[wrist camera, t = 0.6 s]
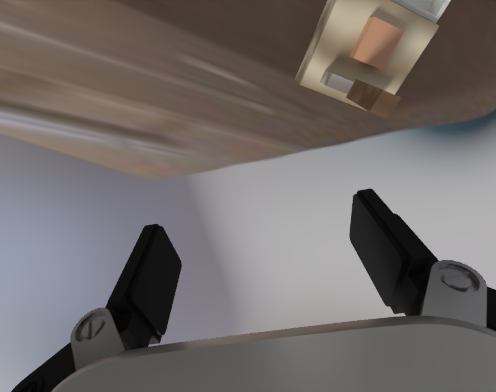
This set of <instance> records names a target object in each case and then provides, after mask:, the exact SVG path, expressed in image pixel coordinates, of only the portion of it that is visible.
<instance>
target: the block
mask: <svg viewBox="0 0 496 392" xmlns="http://www.w3.org/2000/svg"><path fill="white" fill-rule="evenodd" d="M404 32H405V31H403V30H401V29H399V28H397V27H395V26H393V25H391V24H389V23H387V22H385V21H383V20H381V19H379V18H377V17H369V18H368V20H367V22H366V24H365V26H364V28H363V30H362V32H361V34H360V36H359V38H358V40H357V42H356V44H355V46H354V48H353V50H352V52H351V54H350V56H349V57H351V58H353V59H355V60H357V61H360V62H362V63H364V64H366V65H369V66H371V67H373V68H376V69H379V70H382V69H383V67H384V66H385V64H386V62H387V61H388V59H389V57H390V56H391V54H392V52H393V50H394V49H395V47H396V45H397V44H398V42H399V40H400V39H401V37H402V35H403V34H404Z"/></svg>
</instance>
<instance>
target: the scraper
mask: <svg viewBox="0 0 496 392" xmlns="http://www.w3.org/2000/svg"><path fill="white" fill-rule="evenodd" d="M320 83H322V84H324V85H325V86H327V87H330V88H332V89H335V90H337V91H340V92H342V93H345V94H347V96H346V98H347V99H349V100H351V101H352V102H354V103H356V104H357V105H359V106H361V107H362V108H364V109H366V110H367V111H369V112H371V113H374V114H376V115H379V116H381V117H384V118H386V119H387V118H388V117H389V115H390V114H391V112H392V111H393V109H394V108H395V106H396V105H397V103H398V102H399V100H400V99H401V97H399V96H396V95H394V94H392V93H389V92H387V91H385V90H382V89H380V88H377V87H375V86H372V85H370V84H367V83H365V82H362V81H360V80H357V79H356V80H355V82H353V81H350V80H348V79H346V78H343V77H341V76H338V75H336V74H334V73H331V72H329V71H326V70H325V72H324V74H323V76H322V78H321V80H320Z"/></svg>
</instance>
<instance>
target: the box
mask: <svg viewBox="0 0 496 392" xmlns="http://www.w3.org/2000/svg"><path fill="white" fill-rule="evenodd" d="M391 1H393V2H395V3H397V4H399V5H401V6H402V7H404V8H406V9H408V10H410V11H412V12H414V13H416V14H418V15H420V16H421V17H423V18H425V19H427V20H429V21H431V22H433V23H437V21H438V19H439V18H440V16H441V15H442V13H443V12H444V10H445V9H446V7H447V5H448V4H449V2H450V1H451V0H391Z"/></svg>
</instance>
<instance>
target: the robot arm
mask: <svg viewBox="0 0 496 392" xmlns="http://www.w3.org/2000/svg"><path fill="white" fill-rule="evenodd" d="M350 240H351V243H352V245H353V247H354V248H355V250H356V252H357V254H358V256H359V258H360V259H361V261H362V263H363V265H364V267H365V269H366V271H367V272H368V274H369V276H370V278H371V280H372V282H373V284H374V285H375V287H376V289H377V291H378V293H379V295H380V297H381V298H382V300H383V302H384V304H385V305H386V306H390V307H391V309H392V311H393V313H394V314H398V313H405V315H406V316H402V317H388V318H379V319H368V320H358V321H350V322H341V323H333V324H324V325H316V326H308V327H300V328H291V329H283V330H275V331H266V332H258V333H250V334H242V335H234V336H226V337H218V338H211V339H203V340H195V341H187V342H179V343H172V344H165V345H159V346H152V347H148V345H149V344H156V343H160V341H161V337H162V335H164V334H165V332H166V329H167V324H168V320H169V316H170V312H171V308H172V304H173V300H174V296H175V292H176V287H177V283H178V279H179V275H180V271H181V267H182V265H181V260H180V258H179V256H178V254H177V253H176V251H175V249H174V247H173V245H172V243H171V241H170V239H169V238H168V236H167V234H166V232H165V230H164V228H163V227H162V226H159V225H158V224H153V225H147V226H145V227H144V228H143V230H142V233H141V234H140V237H139V239H138V241H137V243H136V245H135V247H134V249H133V251H132V253H131V255H130V257H129V259H128V261H127V263H126V265H125V267H124V269H123V271H122V273H121V275H120V278H119V280H118V282H117V284H116V286H115V288H114V290H113V292H112V294H111V296H110V298H109V300H108V303H107V305H106V307H105V308H98V309H95V310H92V311H91V312H89V313H87V314H86V315H85V316H84V317H82V318H81V319H80V320H79V322H78V323H77V324H76V326H75V327H74V329H73V331H72V334H71V342H70V343H69V344H67V345H66V346H65V347H64V348H62V349H61V350H60V351H59V352H57V353H56V354H55V355H54V356H52V357H51V358H50V359H49V360H47V361H46V362H45V363H44V364H42V365H41V366H40V367H39V368H37V369H36V370H35V371H34V372H32V373H31V374H30V375H28V376H27V377H26V378H25V379H24V380H22V381H21V382H20V383H19V384H18V385H17V386H16V387H15V388H14V389H13V390H12V391H11V392H496V290H495V289H492V288H489V287H487V286H486V281H485V280H484V279H483V277H482V276H481V275H480V274H479V273H478V272H477V271H476V270H474V269H472V268H471V267H469V266H467V265H465V264H462V263H460V262H456V261H452V260H442V261H438V260H437V258H436V257H435V256H434V255H433V254H432V253H431V251H430V250H429V249H428V248H427V247H426V246H425V245H424V243H423V242H422V241H421V240H420V239H419V238H418V237H417V235H416V234H415V233H414V232H413V231H412V230H411V229H410V228H409V227H408V225H407V224H406V223H405V222H404V221H403V220H402V219H401V217H400V216H398V215H397V214H393V213H392V211H391V210H390V209H389V208H388V207H387V205H386V204H385V203H384V202H383V201H382V200H381V199H380V197H379V196H378V195H377V194H376V193H375V192H374V190H372V189H366V190H360V191H358V192H357V194H355V195H354V196H353V204H352V214H351V224H350Z"/></svg>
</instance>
